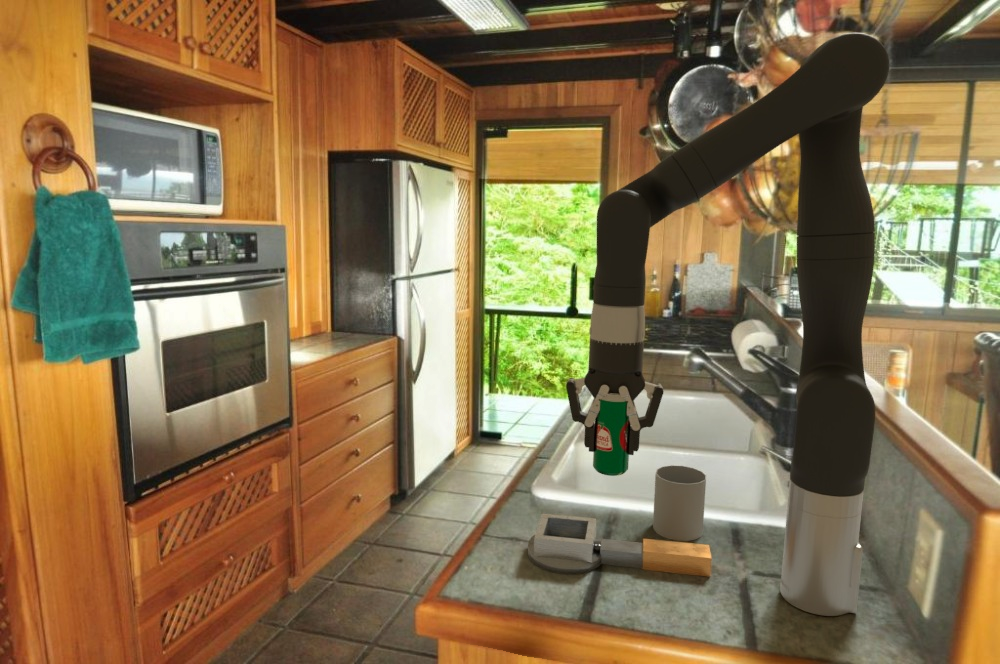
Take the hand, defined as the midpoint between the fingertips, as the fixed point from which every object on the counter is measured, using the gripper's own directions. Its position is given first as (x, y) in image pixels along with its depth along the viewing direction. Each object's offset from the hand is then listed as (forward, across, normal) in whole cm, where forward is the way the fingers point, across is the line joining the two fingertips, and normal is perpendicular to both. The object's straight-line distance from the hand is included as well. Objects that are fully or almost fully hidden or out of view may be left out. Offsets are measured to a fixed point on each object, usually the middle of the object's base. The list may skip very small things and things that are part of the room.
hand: (610, 451), depth 98 cm
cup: (+20, -12, -19) cm, 30 cm away
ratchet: (+20, -2, -6) cm, 21 cm away
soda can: (+3, 0, 0) cm, 3 cm away
